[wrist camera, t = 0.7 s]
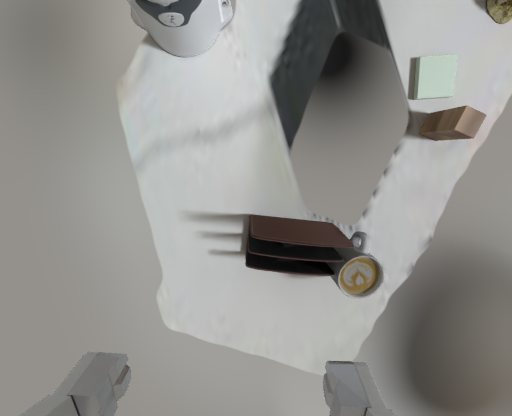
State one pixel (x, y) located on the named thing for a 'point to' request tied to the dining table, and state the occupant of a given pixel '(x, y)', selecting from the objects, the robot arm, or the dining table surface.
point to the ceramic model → (500, 10)
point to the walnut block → (453, 124)
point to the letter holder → (293, 245)
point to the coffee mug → (357, 269)
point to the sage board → (435, 76)
